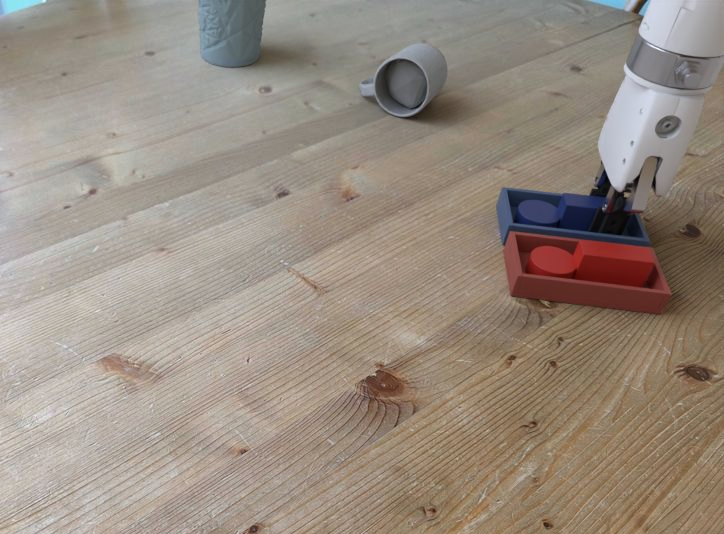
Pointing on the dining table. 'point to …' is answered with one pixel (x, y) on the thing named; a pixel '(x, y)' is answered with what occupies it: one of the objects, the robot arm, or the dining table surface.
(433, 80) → the ceramic mug
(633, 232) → the blue bin
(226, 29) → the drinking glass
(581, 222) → the blue cylinder-cube block
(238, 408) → the dining table surface
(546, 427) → the dining table surface
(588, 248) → the red cylinder-cube piece
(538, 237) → the red bin
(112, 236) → the dining table surface
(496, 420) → the dining table surface
